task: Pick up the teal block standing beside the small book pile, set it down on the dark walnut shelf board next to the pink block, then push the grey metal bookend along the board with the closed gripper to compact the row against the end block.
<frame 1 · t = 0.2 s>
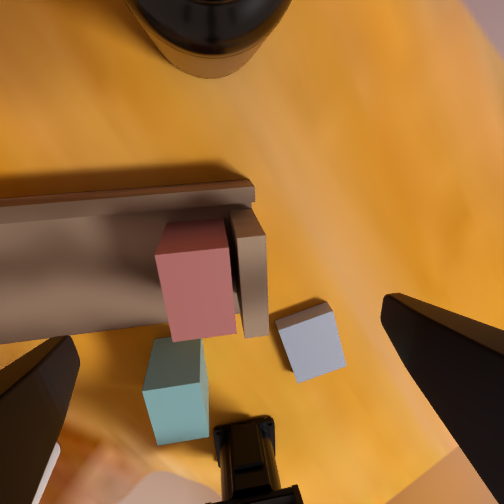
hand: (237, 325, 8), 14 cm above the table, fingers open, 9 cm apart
lying grey book: (308, 336, 28), on the table
shelf board: (93, 266, 22), on the table
teal block: (182, 361, 27), on the table
pink block: (200, 258, 22), point 1 cm above the table, touching shelf board
supplement bottle: (205, 14, 17), on the table
photo printer: (4, 446, 28), on the table
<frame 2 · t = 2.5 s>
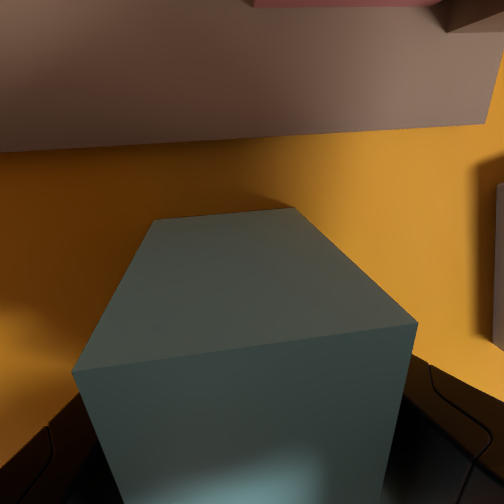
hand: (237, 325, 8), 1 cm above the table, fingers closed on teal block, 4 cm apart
teal block: (233, 302, 10), on the table, touching gripper
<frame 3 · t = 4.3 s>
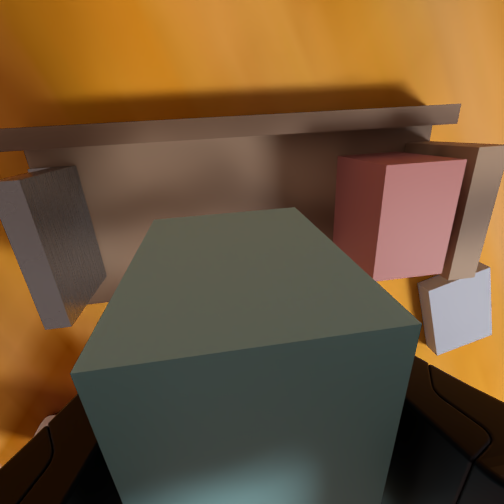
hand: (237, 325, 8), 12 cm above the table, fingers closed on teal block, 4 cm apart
lying grey book: (445, 302, 25), on the table
bookend: (49, 242, 15), point 3 cm above the table, slide at 0.0 cm
shelf board: (246, 208, 19), on the table
teal block: (234, 302, 9), point 11 cm above the table, touching gripper
pink block: (363, 200, 20), point 1 cm above the table, touching shelf board
when the fingers open (3 cm above the table, at t = 6.0 s): teal block drops 1 cm, resting on shelf board.
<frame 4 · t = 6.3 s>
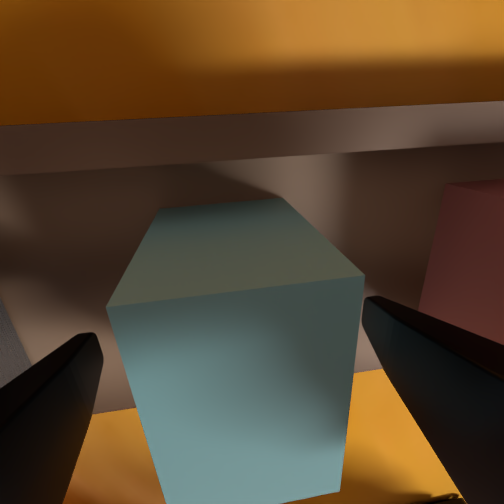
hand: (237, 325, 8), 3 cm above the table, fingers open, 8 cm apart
shelf board: (279, 269, 11), on the table
teal block: (230, 283, 11), point 1 cm above the table, touching shelf board
pink block: (474, 254, 12), point 1 cm above the table, touching shelf board
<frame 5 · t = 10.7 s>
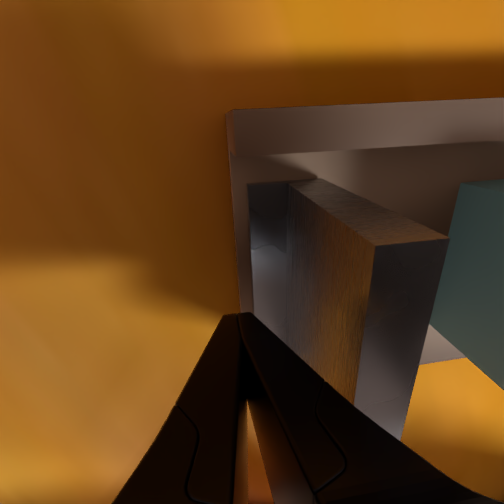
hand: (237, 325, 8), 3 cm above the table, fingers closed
bookend: (308, 324, 8), point 3 cm above the table, slide at 0.3 cm, touching gripper
teal block: (488, 254, 12), point 1 cm above the table, touching shelf board
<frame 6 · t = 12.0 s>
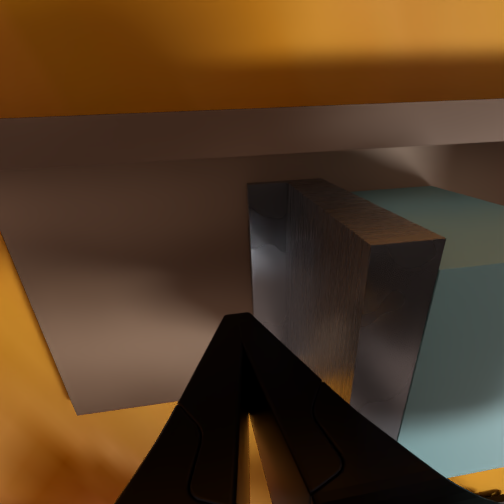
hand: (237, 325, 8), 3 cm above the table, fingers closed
bookend: (306, 324, 8), point 3 cm above the table, slide at 7.4 cm, touching gripper, teal block
shelf board: (362, 261, 12), on the table
teal block: (365, 269, 11), point 1 cm above the table, touching bookend, shelf board
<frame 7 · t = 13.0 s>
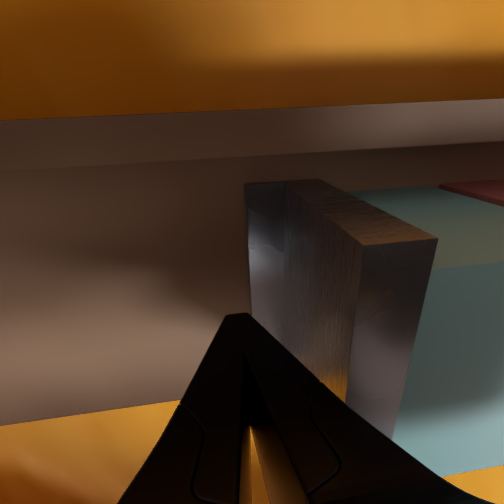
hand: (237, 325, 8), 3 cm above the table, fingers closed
bookend: (303, 323, 8), point 3 cm above the table, slide at 11.0 cm, touching gripper, teal block
shelf board: (270, 269, 11), on the table
teal block: (363, 268, 11), point 1 cm above the table, touching bookend, shelf board
pink block: (469, 256, 12), point 1 cm above the table, touching shelf board
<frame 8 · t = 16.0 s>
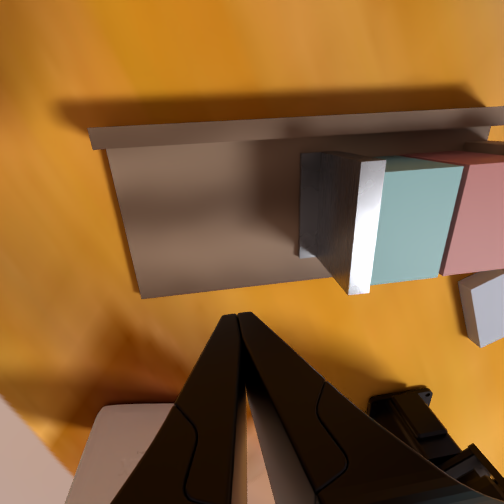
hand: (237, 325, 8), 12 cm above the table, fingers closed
lying grey book: (484, 296, 26), on the table
bookend: (332, 219, 17), point 3 cm above the table, slide at 11.1 cm, touching teal block
shelf board: (307, 205, 20), on the table
teal block: (361, 203, 20), point 1 cm above the table, touching bookend, shelf board
pink block: (420, 197, 20), point 1 cm above the table, touching shelf board
photo printer: (160, 414, 26), on the table
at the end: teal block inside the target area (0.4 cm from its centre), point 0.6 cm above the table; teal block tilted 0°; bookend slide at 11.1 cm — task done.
